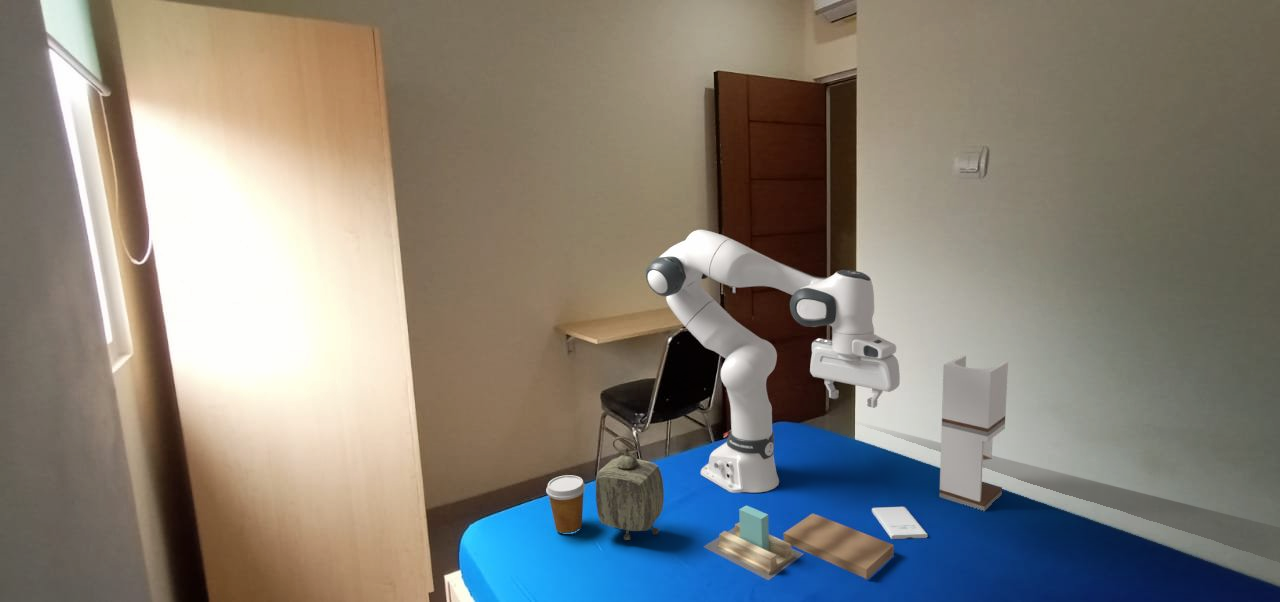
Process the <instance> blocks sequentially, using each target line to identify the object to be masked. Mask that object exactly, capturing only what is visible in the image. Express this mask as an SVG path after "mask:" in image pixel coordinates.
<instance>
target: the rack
mask: <svg viewBox="0 0 1280 602" xmlns="http://www.w3.org/2000/svg"><path fill="white" fill-rule="evenodd" d="M734 528H735V535H733V534H731V533H729V532H728V531H726V530H723V531H722V532H721V533H719V535H718V537H719V540H720V545H718V546H717V547H718V550H720V551H722V552H724V553H726V554H728V555H730V556H732V557H734V558H736V559H738V560H740V561H742V562H744V563H746V564H748V565H750V566H752V567H754V568H756V569H758V570H760V571H762V572H764V573H766V574H768V575H770V574H771V573H772V572H774V571H775V570H776V569H778V568H779V567H780V566H782V565H783V564H785V563H786V562H787V561H789V560H790V559H791V558H793V557H794V553H792V550H791V548H792V545H791V544H790V543H787V542H785V541H784V539H780V538H778V537H776V536H774V535H771V534H769V551H767V550H765V549H762V548H760V547H758V546H756V545H754V544H752V543H750V542H748V541H746V540H743V539H741V538H740V521H739V522H737V523H735V524H734Z"/></svg>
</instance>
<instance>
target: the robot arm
mask: <svg viewBox="0 0 1280 602" xmlns="http://www.w3.org/2000/svg"><path fill="white" fill-rule="evenodd" d="M708 277H709V278H711V279H712V280H714V281H716V282H719V283H720V284H722V285H725V286H729V287H732V288H748V287H749V288H750V287H768V288H769V287H770V288H774V289H777V290H779V291H782V292H785V293H786V294H789V295H791V298H790V301H789V309H790V314H791V316H792V318H793V320H795V322H796V323H798V324H800V325H801V326H803V327H807V328H809V327H810V328H811V327H812V328H815V327H822V326H823V327H824V326H830V327H831V328H832V330H831V334H832V335H831V336H832V337H831V339H827V338H822V337H821V338H820V337H819V338H816V339H814V340H813V341H812V343H811V358H810V363H809V364H810V365H809V366H810V368H809V373H810V374H811V375H812V377H813V378H816V379H817V378H818V379H823V380H824V385H825V387H826V389H827V390H828V397H829V398H830V399H833V400H837V399H839V393H840V392H839V390H838V389H836V387H835V385H834V383H835V382H838V383H843V384H849V385H852V386H858V387H862V388H863V387H864V388H868V389H871V393H872V394H873V395H872V397H869V398H867V404H866V405H867V407H868V408H869V407H870V408H874V409H875V408H876V407H878V399H879V397H880V396H881V395H882V393H883V392H888V393H890V392H892V391H895V390H896V389H897V388H898V387H899V386H900V384H901V383H900V381H901V379H900V377H901V376H900V366H899V365H900V364H899V360H898V358H897V357H896V356H895V355H894V354H896V353H897V346H896V344H895V343H893V342H891V341H888V340H886V339H884V338H883V337H880V336H879V335H876V334H875V327H874V324H873V323H874V322H873V316H874V314H875V295H874V294H875V292H874V285H873V282H872V279H871V277H870V276H869V275H868V274H866V273H864V272H861V271H857V270H852V269H849V270H848V269H841V270H837V271H836V272H835V273H834V274H832V275H831V276H828V277H820V276H815V275H811V274H809V273H806V272H804V271H801V270H799V269H797V268H794V267H791V266H789V265H786V264H785V263H782V262H779V261H777V260H775V259H772V258H770V257H768V256H766V255H764V254H762V253H760V252H758V251H756V250H754V249H752V248H750V247H749V246H746V245H745V244H743V243H741V242H739V241H736V240H735V239H732V238H730V237H728V236H725V235H723V234H721V233H720V234H719V233H717V232H713V231H709V230H706V229H696V230H694V231H692V232H691V233H690V234H688V236H687V237H686V238H685V239H684V240H682V241H681V242H677V243H676V244H674V245H673V246H671V247H669V248H668V249H667V250H666V251H665V252H663V253H662V254H661V255H660V256H659V257H657V258H654V260H652V261H651V263H649V265H648V266H647V268H646V270H645V278H646V282H647V284H648V286H649V288H650V289H651V290H652V291H653V292H654V293H655V294H656V295H658V296H661V297H665V298H666V303H667V305H668V307H669V309H670V310H671V311H672V313H673V314H674V316H675V317H676V318H677V319H678V320H679V322H680V323H681V324H682V325H683V326H684V327H685V328H686V329H687V330H688V332H689V333H691V335H692V336H693V337H694V338H695V339H696V340H698V342H699V343H700V344H701V345H702V346H703V347H704V348H705V349H708V350H710V351H713V352H715V353H716V354H718V355H720V356H721V357H722V358H724V359H725V360H724V362H723V363H722V366H721V368H720V379H721V382H722V383H723V386H724V387H725V388H726V393H727V397H728V401H729V405H730V406H729V407H730V425H731V426H730V427H731V429H729V431H727V432H725V433H723V438H724V439H725V438H727V439H726V442H724V443H722V444H721V445H720V446H718V447H717V448H715V449H713V451H712V452H711V453H710V455H709V459H708V463H706V464H705V465H704V466H703V467H702V468H701V469H700V475H701V476H702V477H704V478H706V479H708V480H709V481H710V482H712V483H714V484H716V485H717V486H719V487H721V488H723V489H724V490H726V491H727V492H729V493H734V494H735V493H737V494H738V493H756V494H757V493H763V492H769V491H772V490H774V489H776V488H777V486H779V483H780V479H779V476H778V473H777V469H776V468H777V467H776V461H775V458H774V456H775V455H774V451H775V434H774V431H773V415H772V414H773V413H772V412H773V408H772V404H771V402H770V400H769V395H768V391H767V379H768V377H769V376H770V374H771V373H772V372H773V371H774V370H775V367H776V365H777V361H778V360H777V358H778V353H777V350H776V348H775V347H774V345H773V344H772V343H771V342H769V341H768V340H766V339H764V338H761V337H759V336H758V335H756V334H755V333H753V331H751V330H750V329H748V328H746V327H745V326H744V325H742V324H741V323H740V322H738V321H737V320H736V319H735V318H733V317H732V316H731V315H730V313H728V311H727V310H725V309H724V308H723V307H722V306H721V304H719V303H718V302H717V300H715V299H714V298H713V296H711V295H710V294H709V293H708V292H707V291H706V290H705V288H704V287H703V285H702V280H705V279H707V278H708Z"/></svg>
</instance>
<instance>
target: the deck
mask: <svg viewBox="0 0 1280 602" xmlns="http://www.w3.org/2000/svg"><path fill="white" fill-rule="evenodd" d="M783 541H785V542H787V543H790V544H791V547H795V548H797V549H798V550H801V551H803V552H806V553H808V554H810V555H812V556H814V557H817V558H819V559H821V560H824V561H825V562H828V563H831V564H832V565H834V566H837V567H839V568H841V569H843V570H846V571H848V572H850V573H852V574H854V575H857V576H859V577H862V578H864V579H865V581H867V580H869V579H870V578H871V577H872V576H873V575H875V573H877V571H879V570H880V569H881V568H882V567H883V566H884V565H885V564H886V563H887V562H888V561H890V560H891V559H892V558H893V557H894V556H895V555H894V553H895V551H894V550H895V546H894V544H892V543H890V542H887V541H884V540H883V539H882V540H881V539H879V538H878V537H874V536H872V535H869V534H867V533H864V532H861V531H859V530H856V529H854V528H851V527H850V526H846V525H844V524H841V523H839V522H837V521H833V520H831V519H829V518H826V517H823V516H821V515H819V514H815V513H813V512H812V513H811V514H809V515H808V516H806V517H805V518H804V519H801V520H800V521H799V522H797V523H796V524H795V525H793V526H792V527H789V529H787V530H786V531H785V532H783Z"/></svg>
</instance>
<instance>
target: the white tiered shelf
mask: <svg viewBox="0 0 1280 602" xmlns="http://www.w3.org/2000/svg"><path fill="white" fill-rule="evenodd" d="M966 364H967V355H964V354H963V355H960V356H958V357H956V358H954V359H952V360H951V361H948V362H946V363H944V364H943V369H942V370H943V372H942V373H943V376H942V405H941V406H942V408H941V433H940V434H941V435H940V436H941V437H940V439H941V440H940V468H939V469H940V470H939V498H942V499H945V500H947V501H952V502H955V503H957V504H961V505H963V504H964V506H966V505H967V507H969V506H970V508H972V507H973V509H976V508H977V509H976V510H979V509H980V510H979V511H982V510H983V511H982V512H985V511H986V510H988V508H990V507H991V506H992V503H993V502H994V501H995V500H996V499H997V500H998V499H999V498H1000V497H1001V496H1002V495H1003V492H1002V491H1003V487H1002V486H998V485H995V484H992V483H988V482H985V481H983V464H984V463H983V461H985V460H992V459H993V441H994V438H995V437H996V436H997V435H999V434H1000V433H1001V432H1003V431H1004V430H1005V428H1006V413H1007V412H1006V411H1007V393H1008V392H1007V389H1008V385H1007V384H1008V371H1009V361H1003V362H1001V363H999V364H997V365H995V366H994V367H989V368H972V367H967V365H966ZM997 500H996V501H997ZM996 501H995V502H996ZM995 502H994V503H995ZM994 503H993V504H994Z"/></svg>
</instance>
